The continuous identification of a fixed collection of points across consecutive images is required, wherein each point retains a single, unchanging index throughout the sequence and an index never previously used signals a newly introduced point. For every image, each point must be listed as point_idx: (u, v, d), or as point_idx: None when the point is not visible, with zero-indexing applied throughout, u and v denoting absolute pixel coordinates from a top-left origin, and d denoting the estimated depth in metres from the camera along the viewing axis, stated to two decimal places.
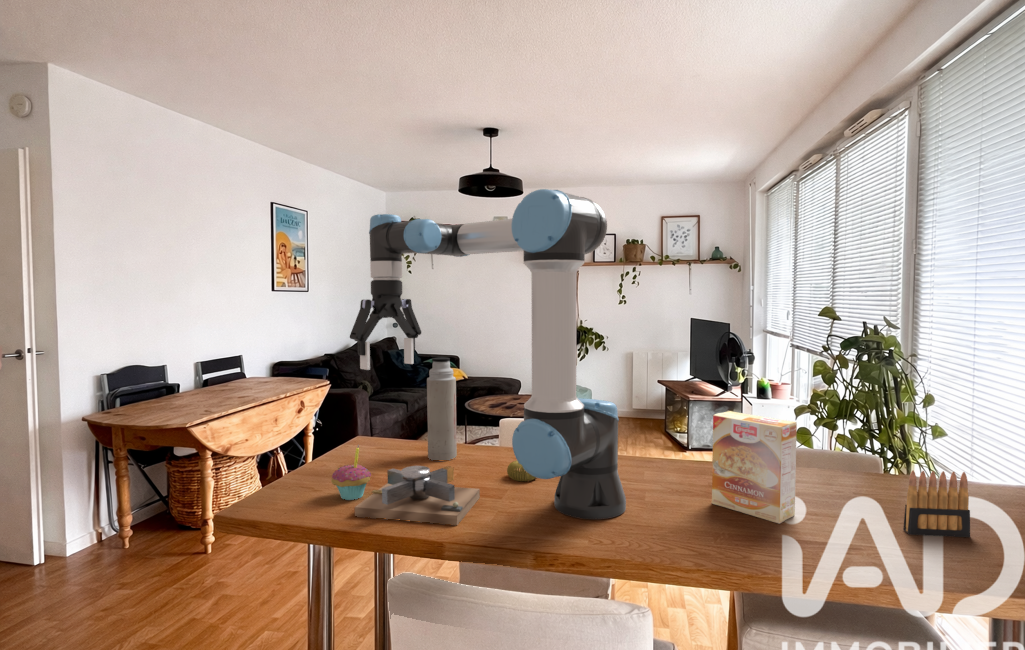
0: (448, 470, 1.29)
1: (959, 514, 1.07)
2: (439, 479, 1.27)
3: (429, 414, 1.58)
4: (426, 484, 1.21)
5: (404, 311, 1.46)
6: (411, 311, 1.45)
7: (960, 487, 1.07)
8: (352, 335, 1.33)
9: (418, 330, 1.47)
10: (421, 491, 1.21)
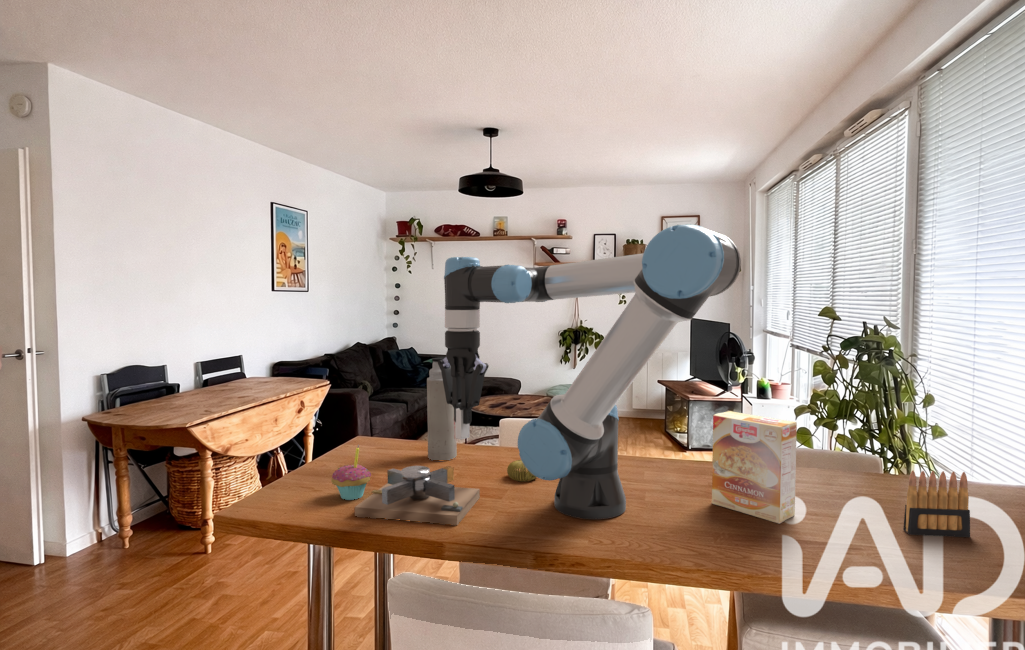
0: (448, 470, 1.29)
1: (959, 514, 1.07)
2: (439, 479, 1.27)
3: (429, 414, 1.58)
4: (426, 484, 1.21)
5: None
6: (474, 377, 1.21)
7: (960, 487, 1.07)
8: None
9: (469, 401, 1.22)
10: (421, 491, 1.21)
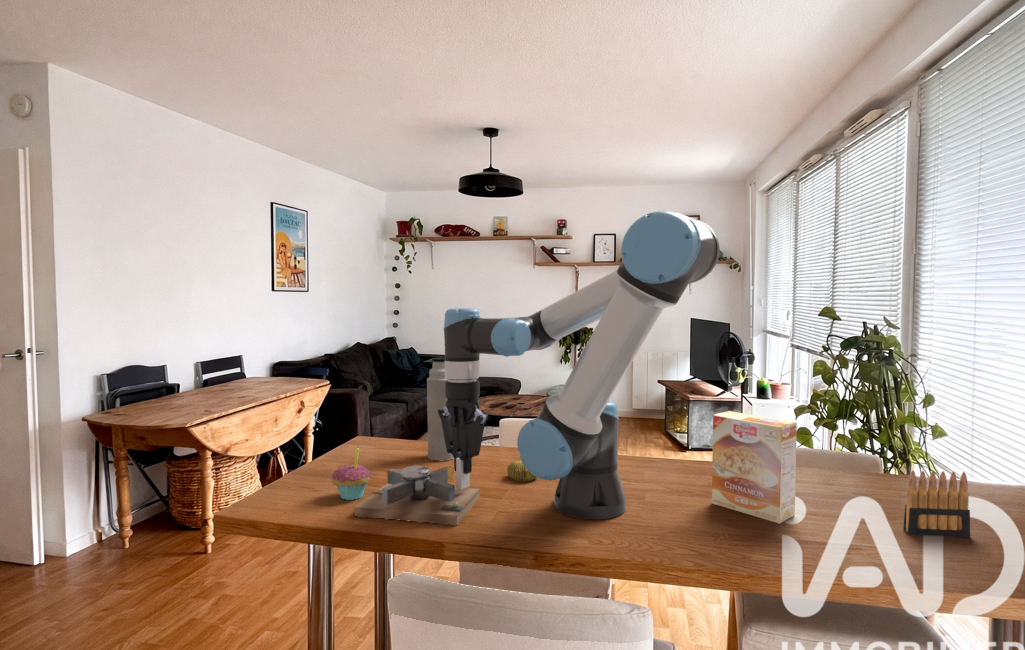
0: (448, 470, 1.29)
1: (959, 514, 1.07)
2: (439, 479, 1.27)
3: (429, 414, 1.58)
4: (426, 484, 1.21)
5: None
6: (474, 428, 1.22)
7: (960, 487, 1.07)
8: None
9: (469, 452, 1.23)
10: (421, 491, 1.21)
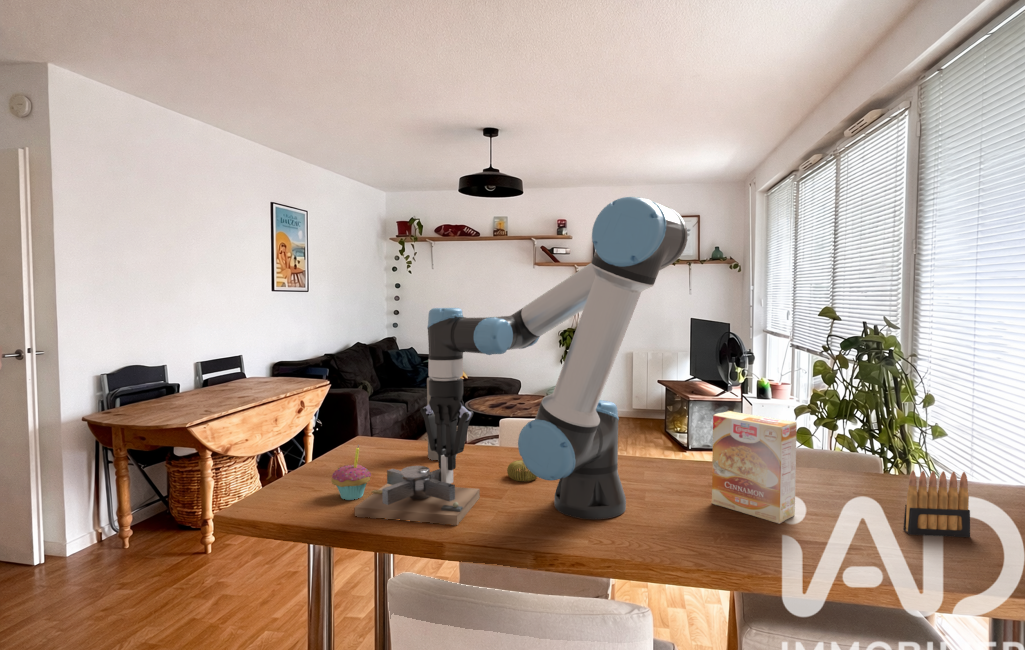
0: None
1: (959, 514, 1.07)
2: (439, 479, 1.27)
3: None
4: (426, 484, 1.21)
5: None
6: (460, 425, 1.24)
7: (960, 487, 1.07)
8: None
9: (455, 448, 1.25)
10: (421, 491, 1.21)
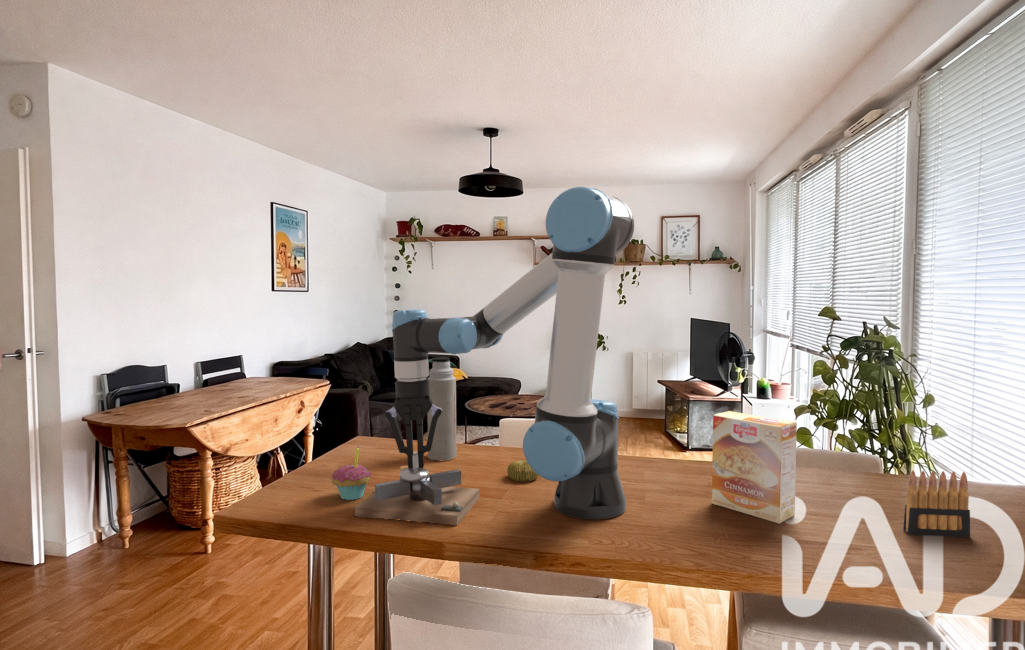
0: None
1: (959, 514, 1.07)
2: None
3: (429, 414, 1.58)
4: (433, 479, 1.24)
5: None
6: (434, 422, 1.29)
7: (960, 487, 1.07)
8: None
9: (428, 445, 1.29)
10: None
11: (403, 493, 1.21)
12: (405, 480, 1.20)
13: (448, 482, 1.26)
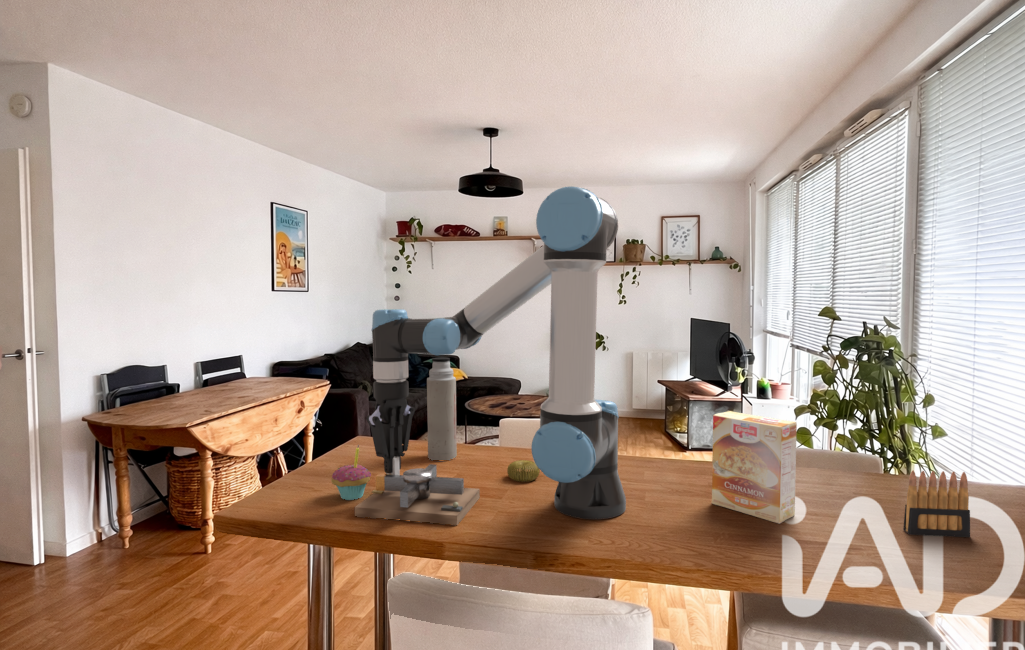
0: None
1: (959, 514, 1.07)
2: None
3: (429, 414, 1.58)
4: None
5: None
6: (409, 421, 1.30)
7: (960, 487, 1.07)
8: (379, 453, 1.24)
9: (406, 445, 1.29)
10: None
11: (417, 495, 1.20)
12: (420, 481, 1.19)
13: (432, 477, 1.30)
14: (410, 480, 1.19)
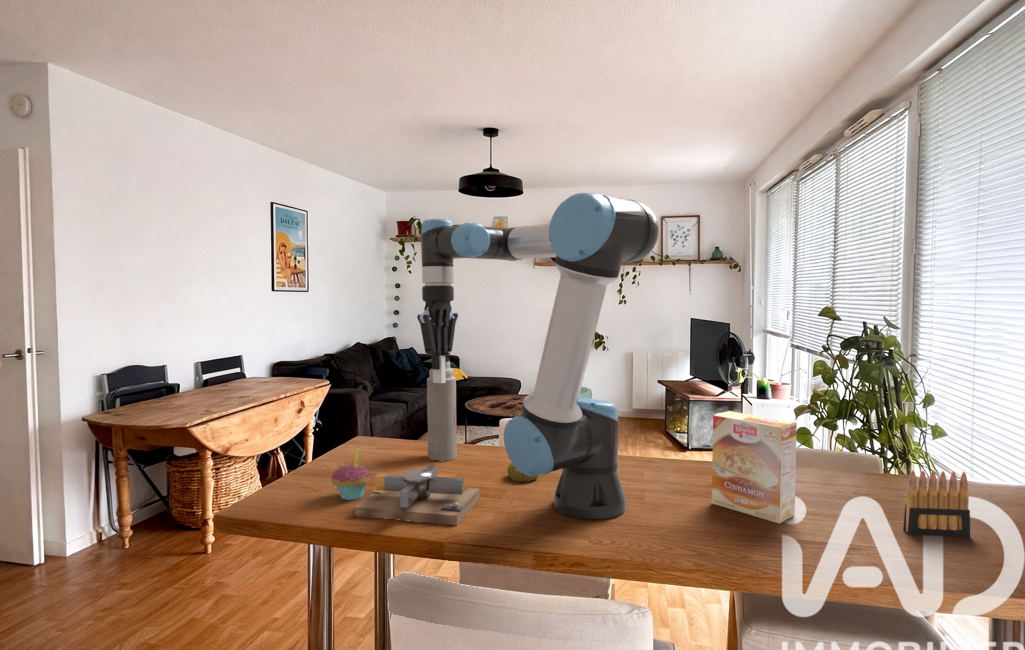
0: None
1: (959, 514, 1.07)
2: None
3: (429, 414, 1.58)
4: None
5: None
6: (453, 325, 1.42)
7: (960, 487, 1.07)
8: (428, 350, 1.36)
9: (450, 346, 1.41)
10: None
11: (417, 495, 1.20)
12: (420, 481, 1.19)
13: (432, 477, 1.30)
14: (410, 480, 1.19)
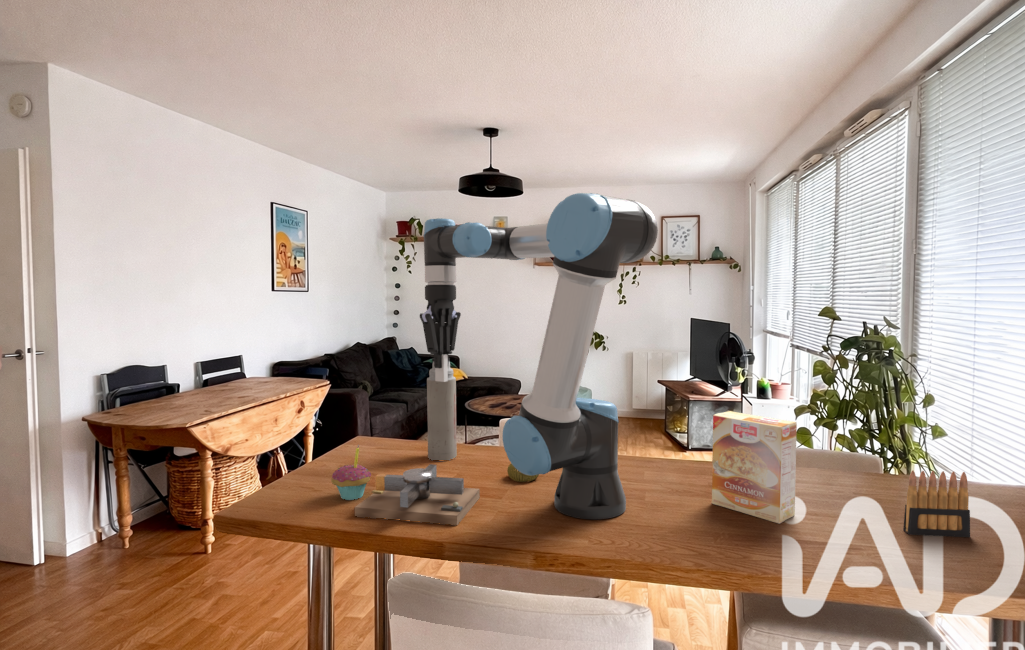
0: None
1: (959, 514, 1.07)
2: None
3: (429, 414, 1.58)
4: None
5: None
6: (456, 324, 1.43)
7: (960, 487, 1.07)
8: (430, 348, 1.37)
9: (453, 345, 1.42)
10: None
11: (417, 495, 1.20)
12: (420, 481, 1.19)
13: (432, 477, 1.30)
14: (410, 480, 1.19)
